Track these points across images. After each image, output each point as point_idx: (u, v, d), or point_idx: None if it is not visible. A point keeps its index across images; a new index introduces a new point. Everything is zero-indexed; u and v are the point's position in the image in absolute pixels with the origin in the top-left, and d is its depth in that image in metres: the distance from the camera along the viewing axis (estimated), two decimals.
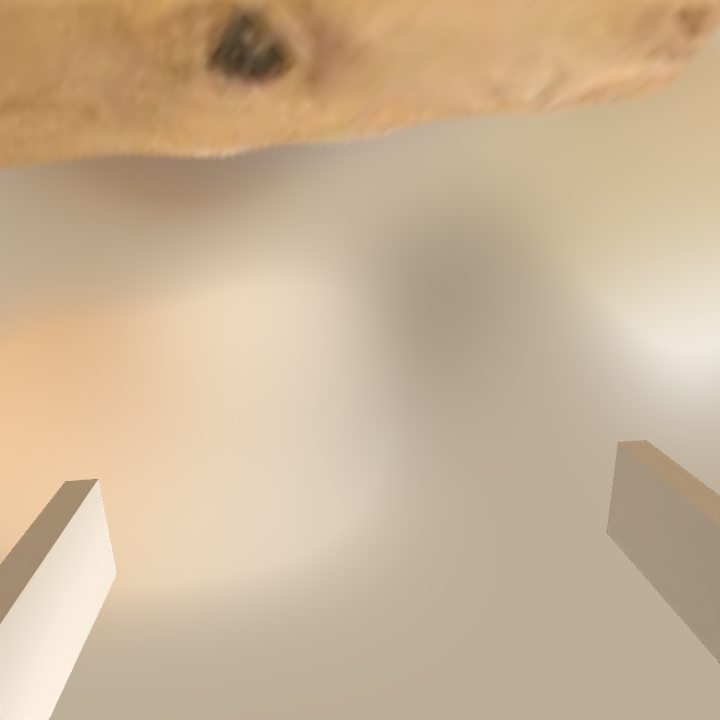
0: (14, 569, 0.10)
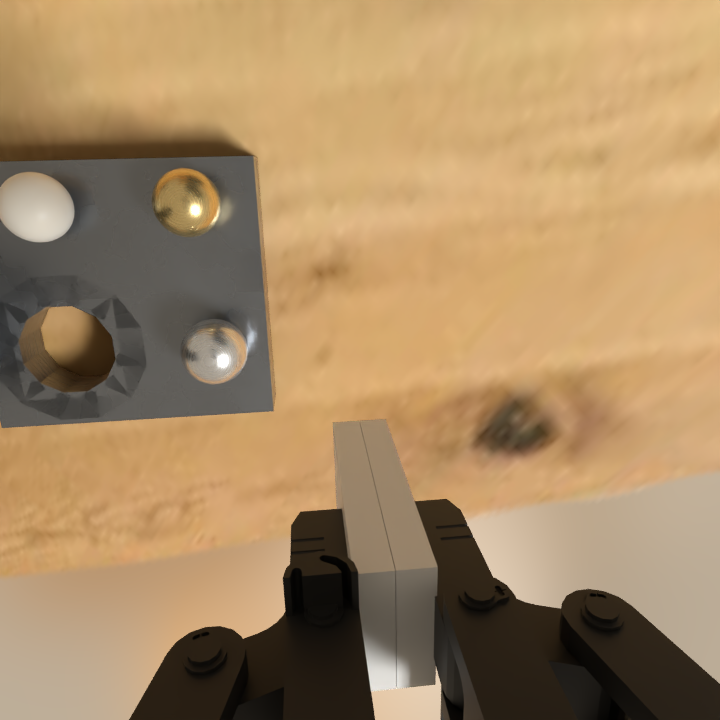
0: (354, 478, 0.13)
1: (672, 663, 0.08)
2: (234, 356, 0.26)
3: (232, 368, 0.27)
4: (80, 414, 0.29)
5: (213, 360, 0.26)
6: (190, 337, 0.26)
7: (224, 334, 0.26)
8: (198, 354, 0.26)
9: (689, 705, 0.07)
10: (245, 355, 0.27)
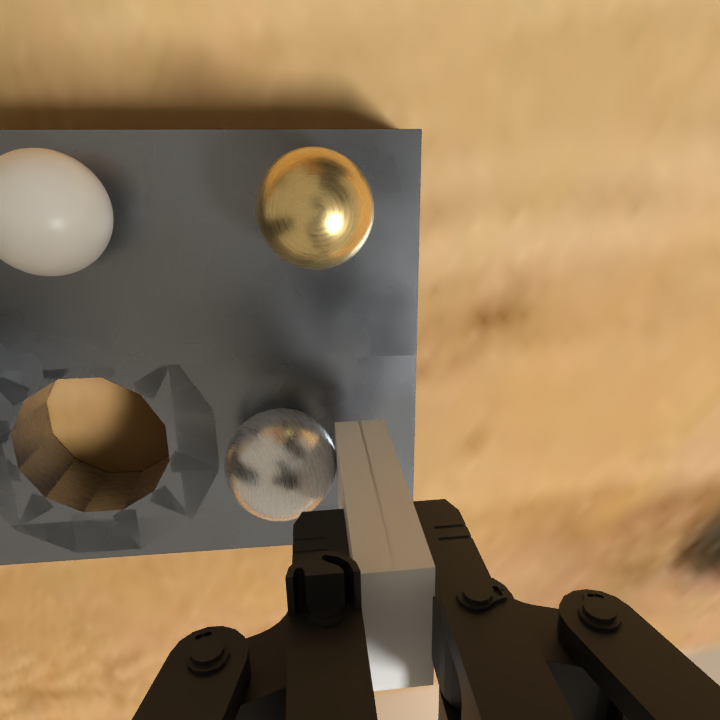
0: (356, 477, 0.13)
1: (669, 663, 0.08)
2: (267, 493, 0.15)
3: (266, 510, 0.15)
4: (109, 544, 0.18)
5: (235, 485, 0.15)
6: (235, 432, 0.16)
7: (264, 450, 0.15)
8: (226, 465, 0.16)
9: (687, 705, 0.07)
10: (300, 495, 0.15)
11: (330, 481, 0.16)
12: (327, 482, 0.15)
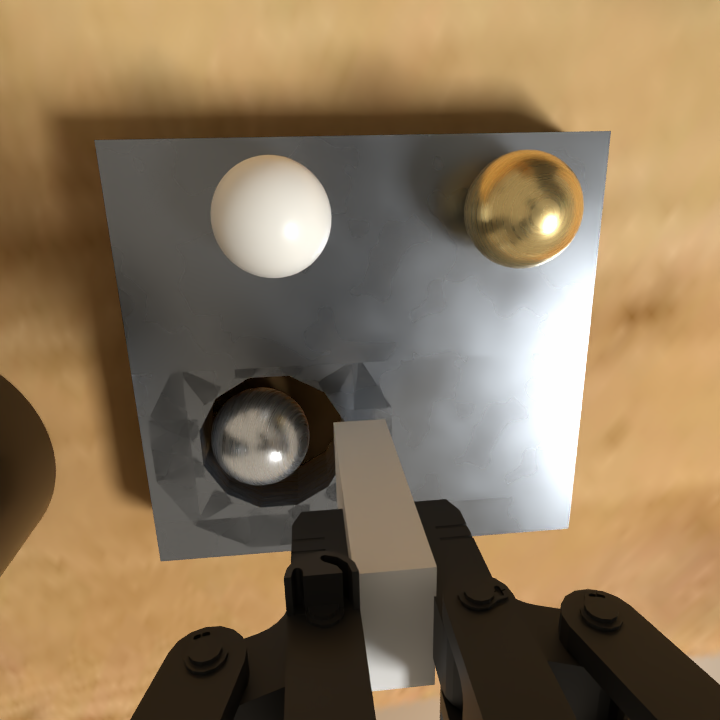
0: (355, 477, 0.13)
1: (670, 664, 0.08)
2: None
3: None
4: (282, 539, 0.19)
5: (307, 439, 0.18)
6: (272, 421, 0.17)
7: (295, 401, 0.19)
8: (295, 438, 0.18)
9: (688, 705, 0.07)
10: None
11: None
12: None
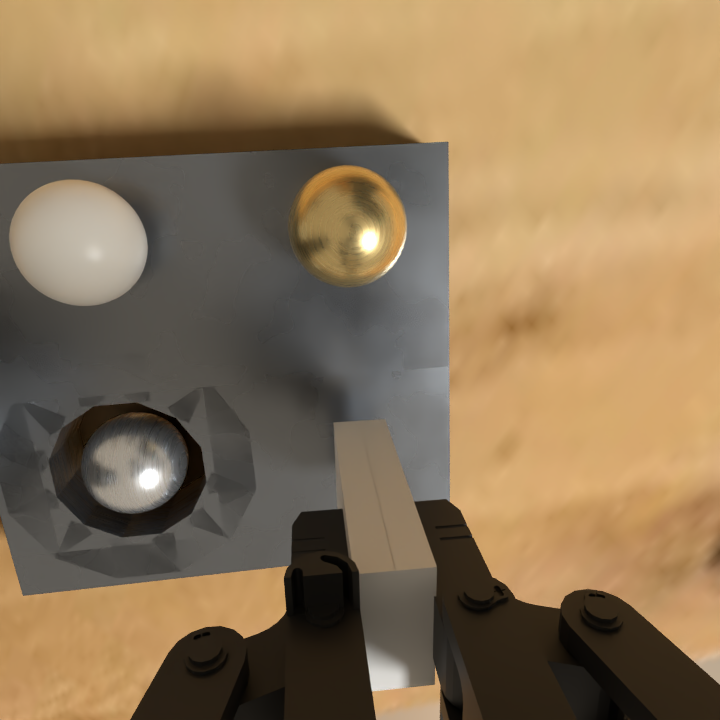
0: (355, 478, 0.13)
1: (670, 663, 0.08)
2: None
3: None
4: (148, 568, 0.18)
5: (186, 458, 0.18)
6: (149, 444, 0.17)
7: (169, 422, 0.18)
8: (175, 459, 0.17)
9: (688, 705, 0.07)
10: None
11: None
12: None
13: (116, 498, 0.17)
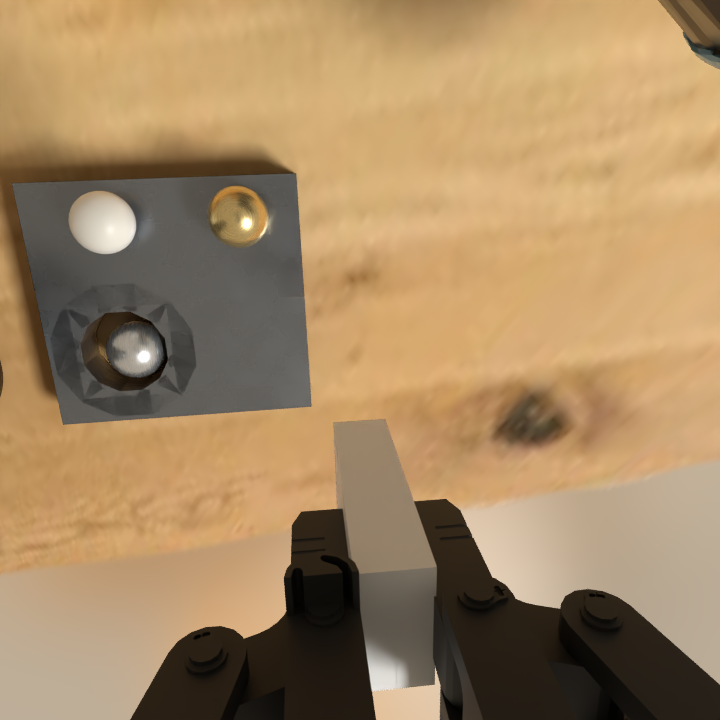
0: (355, 477, 0.13)
1: (671, 663, 0.08)
2: None
3: None
4: (135, 411, 0.32)
5: None
6: (150, 334, 0.31)
7: None
8: (162, 343, 0.32)
9: (688, 705, 0.07)
10: None
11: None
12: None
13: (133, 363, 0.30)
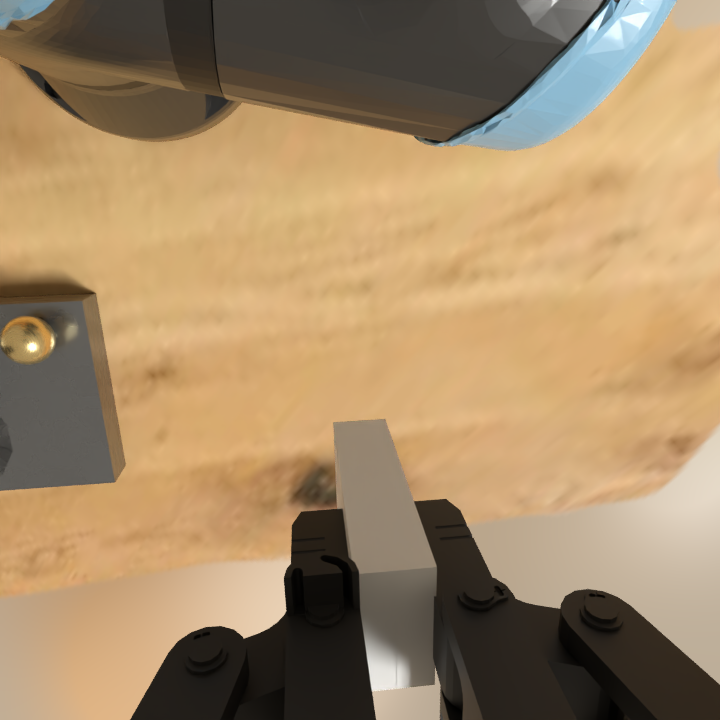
0: (355, 478, 0.13)
1: (670, 663, 0.08)
2: None
3: None
4: None
5: None
6: None
7: None
8: None
9: (688, 705, 0.07)
10: None
11: None
12: None
13: None
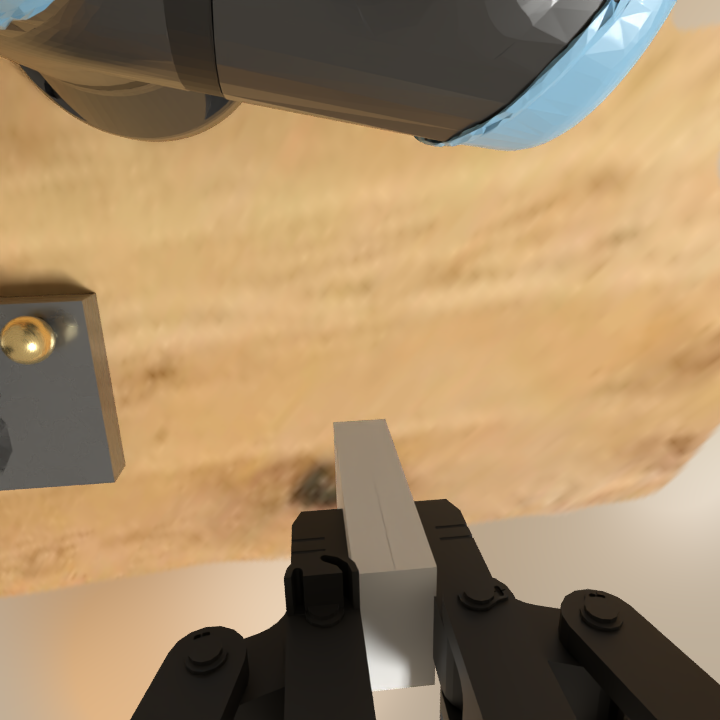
0: (355, 477, 0.13)
1: (670, 663, 0.08)
2: None
3: None
4: None
5: None
6: None
7: None
8: None
9: (688, 705, 0.07)
10: None
11: None
12: None
13: None
